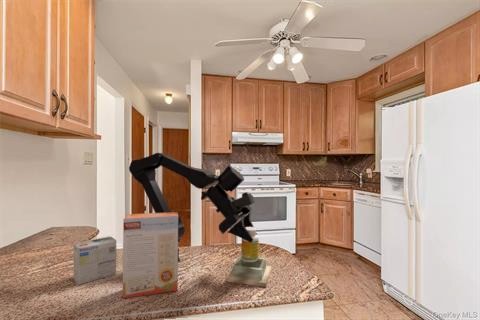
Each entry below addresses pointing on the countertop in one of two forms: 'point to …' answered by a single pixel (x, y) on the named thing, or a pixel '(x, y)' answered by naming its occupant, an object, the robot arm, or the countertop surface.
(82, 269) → the light bulb box
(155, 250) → the cracker box
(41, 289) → the countertop surface
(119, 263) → the countertop surface
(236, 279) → the holder
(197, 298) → the countertop surface
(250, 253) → the supplement bottle
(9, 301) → the countertop surface
